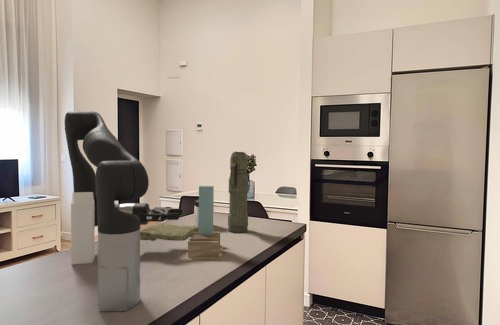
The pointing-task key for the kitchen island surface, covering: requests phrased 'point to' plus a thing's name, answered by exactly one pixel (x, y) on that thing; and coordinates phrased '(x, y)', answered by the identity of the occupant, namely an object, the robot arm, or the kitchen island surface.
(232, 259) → the kitchen island surface
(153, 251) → the kitchen island surface
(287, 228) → the kitchen island surface
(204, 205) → the teal board
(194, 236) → the walnut offcut
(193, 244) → the beech rack
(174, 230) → the decorative tile
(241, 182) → the thermos
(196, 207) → the jar
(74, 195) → the milk
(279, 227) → the kitchen island surface
